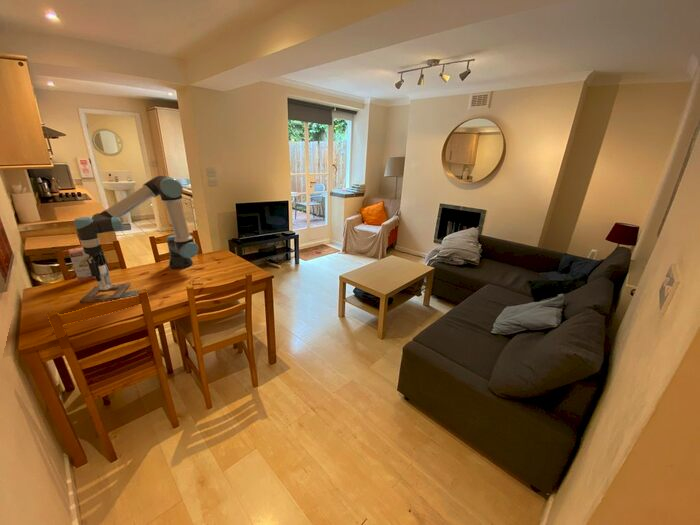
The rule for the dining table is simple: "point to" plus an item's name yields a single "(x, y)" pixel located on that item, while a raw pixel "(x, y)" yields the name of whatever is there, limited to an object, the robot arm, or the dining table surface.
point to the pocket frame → (92, 295)
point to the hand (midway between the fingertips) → (104, 282)
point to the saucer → (131, 293)
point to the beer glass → (105, 277)
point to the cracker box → (80, 264)
